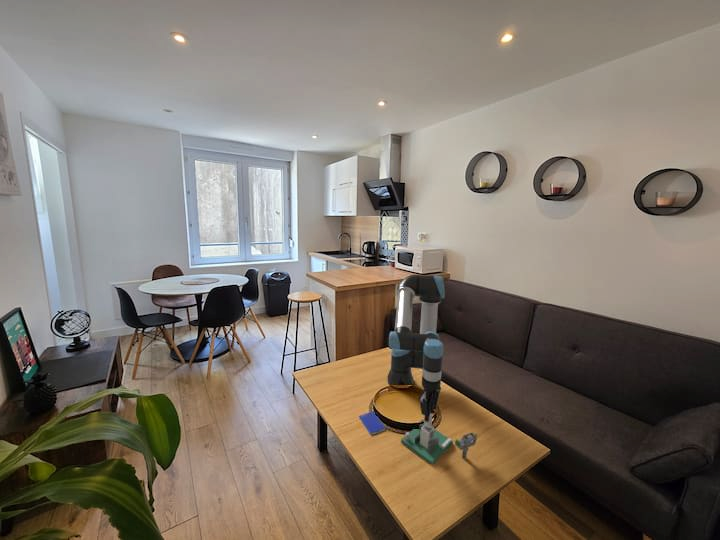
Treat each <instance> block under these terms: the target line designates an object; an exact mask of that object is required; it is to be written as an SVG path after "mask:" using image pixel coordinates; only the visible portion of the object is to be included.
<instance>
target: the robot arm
mask: <svg viewBox="0 0 720 540" xmlns="http://www.w3.org/2000/svg"><path fill="white" fill-rule="evenodd" d="M445 291H446V289H445V281H444V278H443V277H442V276H440V275H434V274H432V275H429V274H410V275H408V276H406V277H404V278H403V279H402V280H401V281H400V283H399V284H398V285H397V287H396V294H395V295H396V298H397V303H396V312H395V313H396V314H395V322H394V324H395V325H394V331H390V332H389V335H388V347H389V349H391V352H390V355H391V358H390V369H389V371H388V374H387V378H386V379H387V380H386V381H387V384H388V385H389V386H391V385H412V386H413V385H414V376H413V372H412V369H421V370H422V371H421V372H422V373H421V375H422V376H421V385H422V388H423V390H422V396H419V397H418V400H419V403H420V412H421V415H423V416H424V419H423V420H424V425H425V426H426V427H428V428H429V429H430V428H431V427H433V426H432V425H433V424H432V422H433V415H434V414H436V411H435V410H437V406H438V402H439V398H440V397H439V396H440V393H441V390H442V387H441V386H442V385H441V381H442V373H443V372H442V370H443V359H444V353H445V351H444V343H443V342H441V338H440V336H439V334H438V333H437V323H438V309H439V304H440V303H441V302H442V299H445V296H446V295H445V294H446V293H445ZM415 297H418V299H419V301H420V302H421V309H420V311H421V313H420V325H419V326H420V327H419V333H415V332H414V333H413V332H412V324H413V323H412V321H413V300H414V299H415Z"/></svg>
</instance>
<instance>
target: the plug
mask: <svg viewBox="0 0 720 540" xmlns="http://www.w3.org/2000/svg"><path fill="white" fill-rule="evenodd" d="M434 429H435V428H434V427H433V426H431V428H430V429H429V428H428V427H426V426H425V425H424V426H423V427H421V433H420V444H421V445H422V446H424V447H425V448H427V449H428V445H429V444H430V443H431V442H432V441H433V437H434Z"/></svg>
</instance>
